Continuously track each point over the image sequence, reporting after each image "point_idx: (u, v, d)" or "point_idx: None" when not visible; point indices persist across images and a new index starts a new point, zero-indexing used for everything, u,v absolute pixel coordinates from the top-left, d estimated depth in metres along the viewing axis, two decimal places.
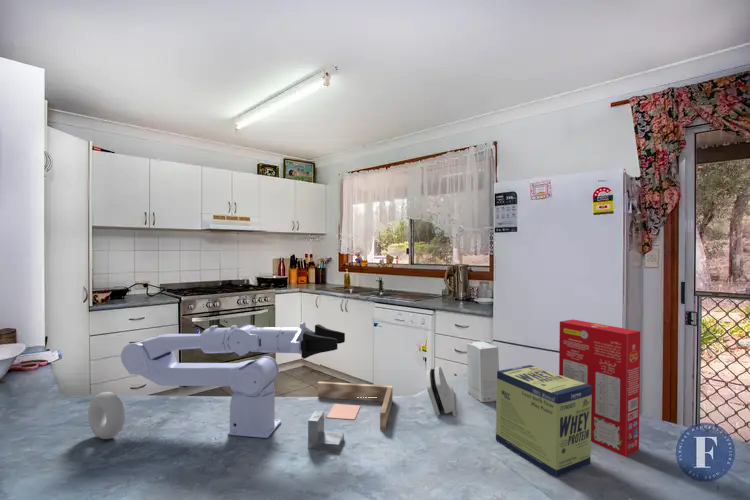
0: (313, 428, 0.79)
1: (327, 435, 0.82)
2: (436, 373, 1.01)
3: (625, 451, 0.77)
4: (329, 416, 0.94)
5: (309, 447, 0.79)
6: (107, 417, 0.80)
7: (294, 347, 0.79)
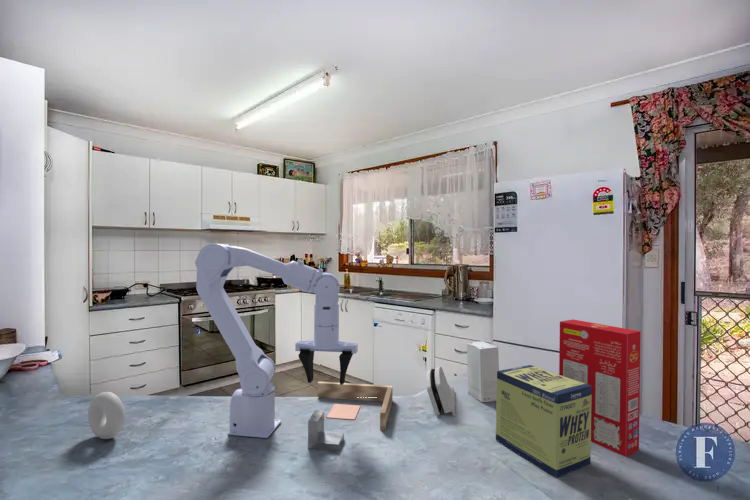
0: (313, 428, 0.79)
1: (327, 435, 0.82)
2: (436, 373, 1.01)
3: (625, 451, 0.77)
4: (329, 416, 0.94)
5: (309, 447, 0.79)
6: (107, 417, 0.80)
7: (356, 348, 0.88)
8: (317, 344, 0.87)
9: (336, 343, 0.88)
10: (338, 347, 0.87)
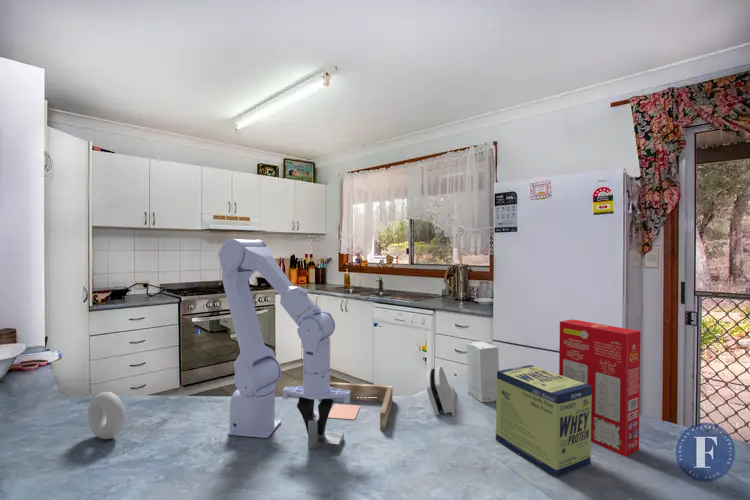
0: (313, 428, 0.79)
1: (327, 435, 0.82)
2: (436, 373, 1.01)
3: (625, 451, 0.77)
4: (329, 416, 0.94)
5: (309, 447, 0.79)
6: (107, 417, 0.80)
7: (349, 396, 0.80)
8: (306, 392, 0.79)
9: (327, 391, 0.80)
10: (329, 396, 0.79)
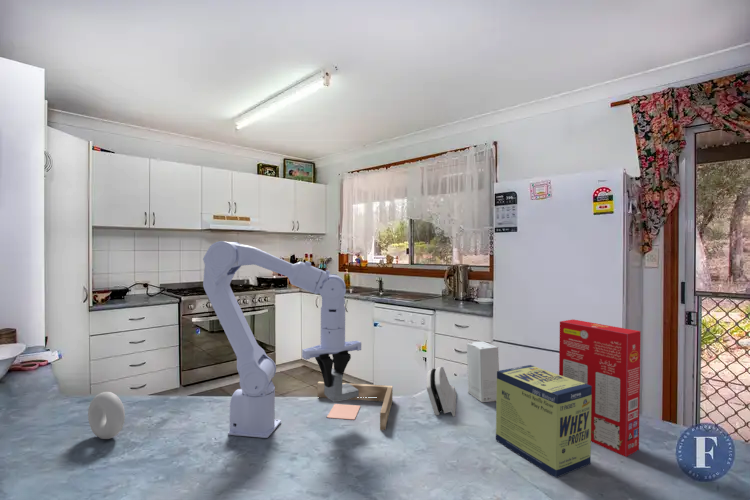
0: (339, 382, 0.87)
1: None
2: (436, 373, 1.01)
3: (625, 451, 0.77)
4: (329, 416, 0.94)
5: (335, 400, 0.86)
6: (107, 417, 0.80)
7: None
8: (332, 347, 0.86)
9: None
10: (349, 347, 0.89)
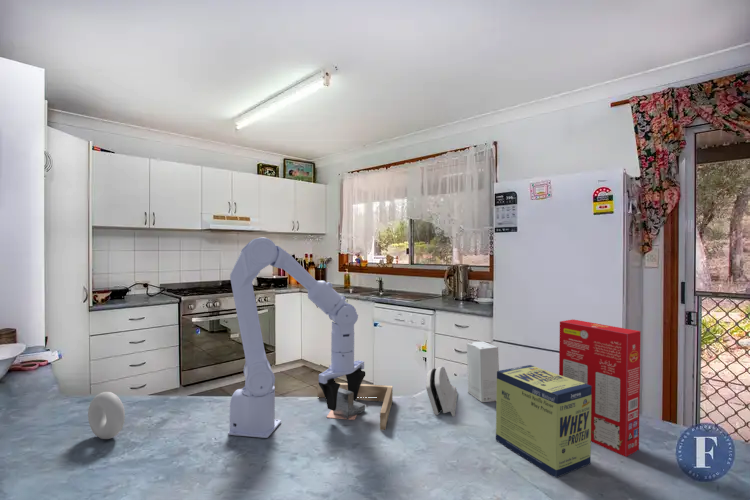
0: (351, 399, 0.94)
1: None
2: (437, 373, 1.02)
3: (625, 451, 0.77)
4: (329, 416, 0.94)
5: (348, 417, 0.93)
6: (107, 417, 0.80)
7: None
8: (345, 370, 0.92)
9: None
10: (357, 367, 0.96)
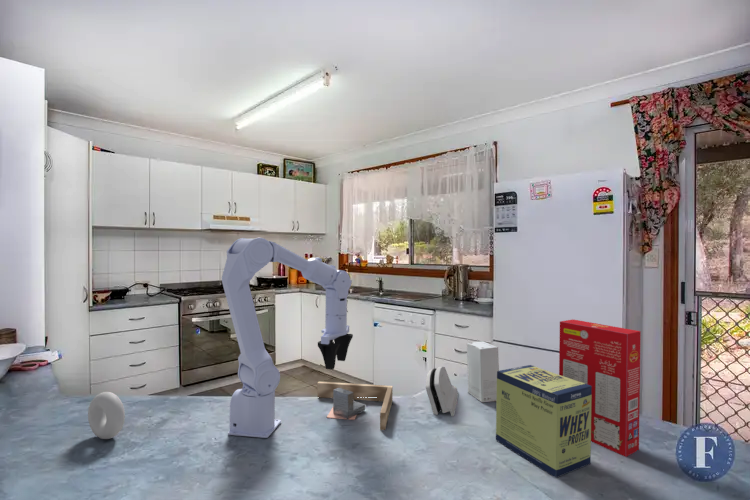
0: (351, 399, 0.94)
1: None
2: (436, 373, 1.02)
3: (625, 451, 0.77)
4: (329, 416, 0.94)
5: (348, 417, 0.93)
6: (107, 417, 0.80)
7: None
8: (342, 331, 1.00)
9: None
10: (347, 329, 1.05)
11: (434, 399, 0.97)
